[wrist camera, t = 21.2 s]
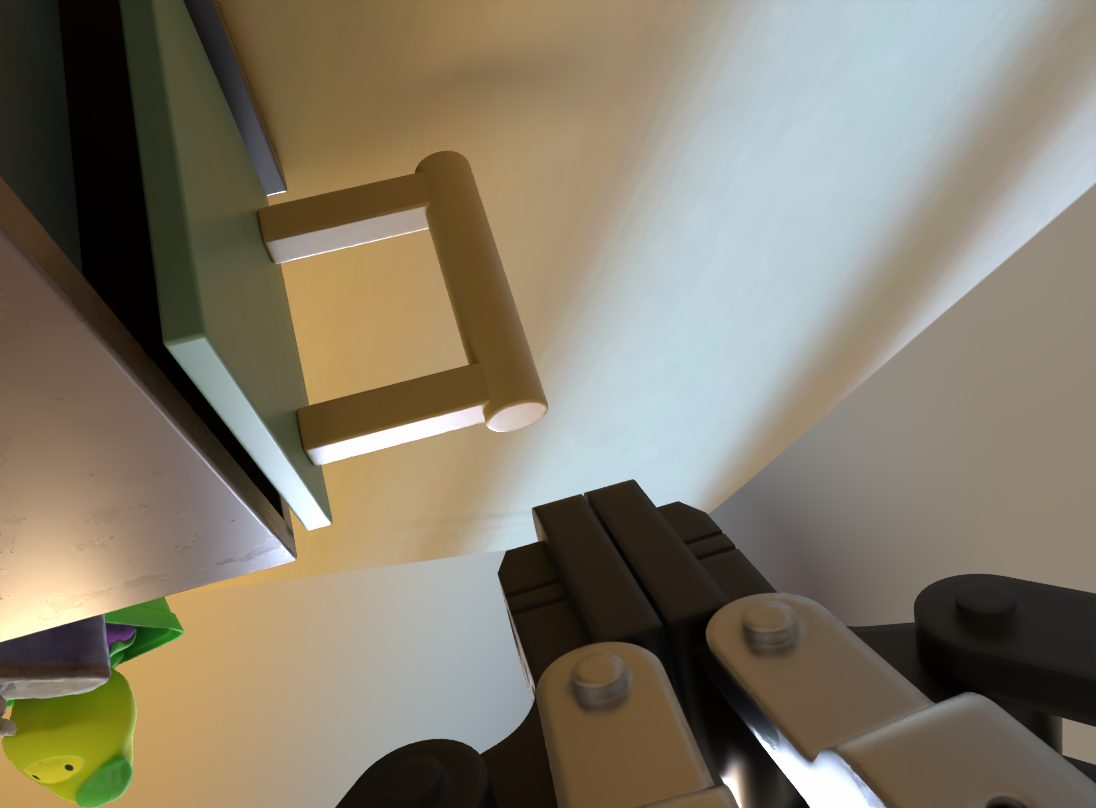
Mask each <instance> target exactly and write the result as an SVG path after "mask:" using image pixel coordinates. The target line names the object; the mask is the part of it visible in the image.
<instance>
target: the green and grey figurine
mask: <svg viewBox="0 0 1096 808" xmlns="http://www.w3.org/2000/svg"><path fill="white" fill-rule="evenodd" d="M104 617H105V626H106V638H107V645H108V650H109V654H110V663H111V665H110V668H111V676H110V678H109V679H108V681H107V682H106V683H105V684H103V685H101V686H99V687H97V688H95V689H94V690H92V691H90V692H86V693H82V694H71V695H64V696H58V697H52V698H43V699H40V698H28V699H5V700H6V703H7V707H11V706H13V708H12V712H11V717H10V721H12V722H14V723H15V725H16V728H17V730H16V733H15V735H13V736H4V738H3V740H2V745H3V749H4V752H5V754H6V756H7V758H8V759H9V760H10V762H11V763H12V764H13V766H15V767H16V768H17V769H18V770H19V771H20V772H22V773H23V774H25V775H26V776H28V777H29V778H30V779H32V780H33V781H35V782H37V783H39V784H41V785H43V786H45V787H47V788H48V789H49V790H51V791H52V792H53V793H55V794H56V795H57V796H58V797H60V798H62V799H64V800H66V801H69V802H74V803H77V804H78V805H79V806H81V807H83V808H95V807H100V806H102V805H105V804H106V803H108V802H111V801H114V800H116V799H117V798H119V797H120V796H121V795H122V794H123V793H124V792H125V791H126V789H127V788H128V786H129V784H130V783H131V780H132V776H133V769H132V763H133V745H132V741H133V735H134V730H135V726H136V719H137V711H136V702H135V698H134V694H133V692H132V689H131V687H130V685H129V683H128V681H127V680H126V679H125V677H124V676H123V675H122V674H120V673H119V672H117V671H116V670H115V669H114V668H115V667H116V666H117V665H119V664H121V663H123V662H125V661H128V660H130V659H133V658H135V657H137V656H139V655H142V654H144V653H146V652H149V651H151V650H153V649H155V648H158V647H160V646H162V645H165V644H167V643H169V642H171V641H174V640H176V639H178V638H179V637H181V636H182V635H183V634H184V630H183V628H182V627H181V625H180V623H179V621H178V619H177V617H176V615H175V614H174V613H172V612H171V611H170V609H169V606H168V604H167V602H166V600H165V598H164V597H161V598H158V599H154V600H150V601H147V602H143V603H139V604H136V605H132V606H129V607H125V608H121V609H118V610H114V611H110V612H107V613H104Z"/></svg>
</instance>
